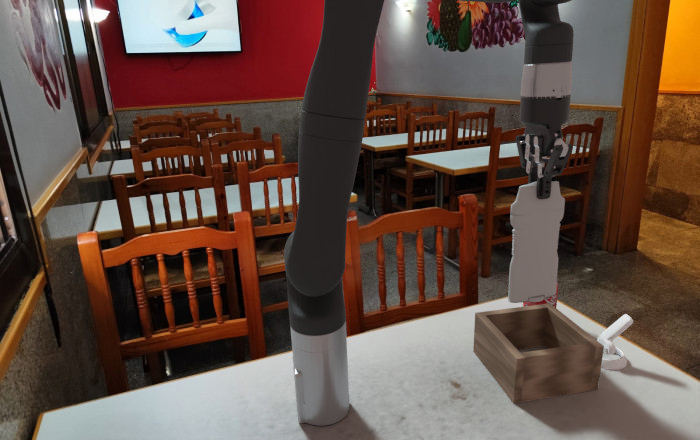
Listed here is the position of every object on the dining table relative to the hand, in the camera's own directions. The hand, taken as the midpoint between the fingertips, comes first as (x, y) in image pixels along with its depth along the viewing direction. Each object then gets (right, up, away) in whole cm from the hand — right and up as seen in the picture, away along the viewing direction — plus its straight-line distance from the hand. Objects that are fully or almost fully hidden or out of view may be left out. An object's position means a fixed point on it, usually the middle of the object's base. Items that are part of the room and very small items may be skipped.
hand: (538, 196), depth 82 cm
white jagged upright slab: (+1, -19, +6) cm, 20 cm away
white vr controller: (+19, -32, +13) cm, 39 cm away
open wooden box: (+3, -33, +11) cm, 35 cm away
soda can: (+11, -28, +28) cm, 40 cm away
